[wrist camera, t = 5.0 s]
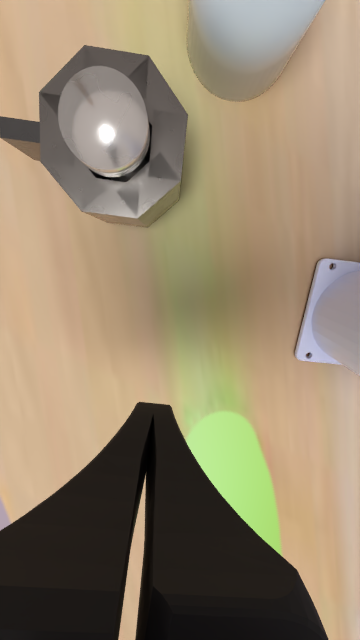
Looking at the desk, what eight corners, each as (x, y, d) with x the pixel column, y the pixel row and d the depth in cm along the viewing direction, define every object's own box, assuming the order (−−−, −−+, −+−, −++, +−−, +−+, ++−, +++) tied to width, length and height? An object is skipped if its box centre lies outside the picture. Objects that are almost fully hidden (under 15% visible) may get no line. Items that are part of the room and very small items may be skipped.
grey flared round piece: (159, 140, 16) (150, 73, 10) (154, 202, 17) (143, 175, 11) (101, 132, 16) (57, 58, 10) (99, 194, 17) (58, 163, 11)
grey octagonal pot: (187, 120, 16) (193, 62, 11) (175, 230, 18) (176, 223, 13) (44, 98, 16) (-15, 29, 11) (46, 214, 18) (-5, 200, 13)
